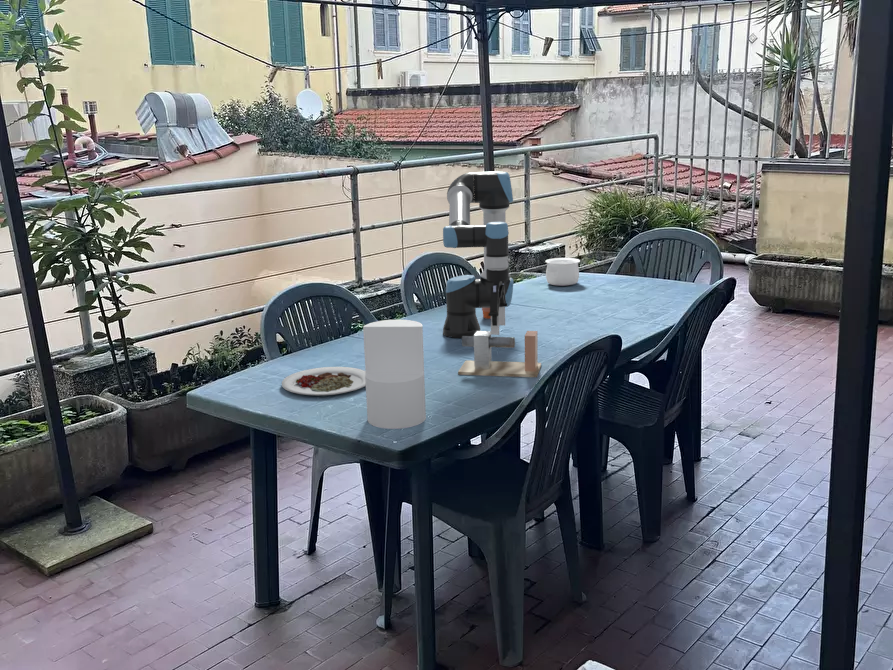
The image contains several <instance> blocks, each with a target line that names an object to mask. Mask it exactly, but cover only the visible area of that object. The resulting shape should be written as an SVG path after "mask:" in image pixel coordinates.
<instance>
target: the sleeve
mask: <svg viewBox="0 0 893 670" xmlns="http://www.w3.org/2000/svg"><path fill="white" fill-rule="evenodd" d="M489 337H492V335H491V330H487V331H486V330H480V331H477V332H476V333H475V334H474V347H473V352H474V353H473V355H474V356H473V359H474V360H473V361H474V368H475V369H489V368H490V366H491V365H492V361H493V360H492V347H489Z"/></svg>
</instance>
